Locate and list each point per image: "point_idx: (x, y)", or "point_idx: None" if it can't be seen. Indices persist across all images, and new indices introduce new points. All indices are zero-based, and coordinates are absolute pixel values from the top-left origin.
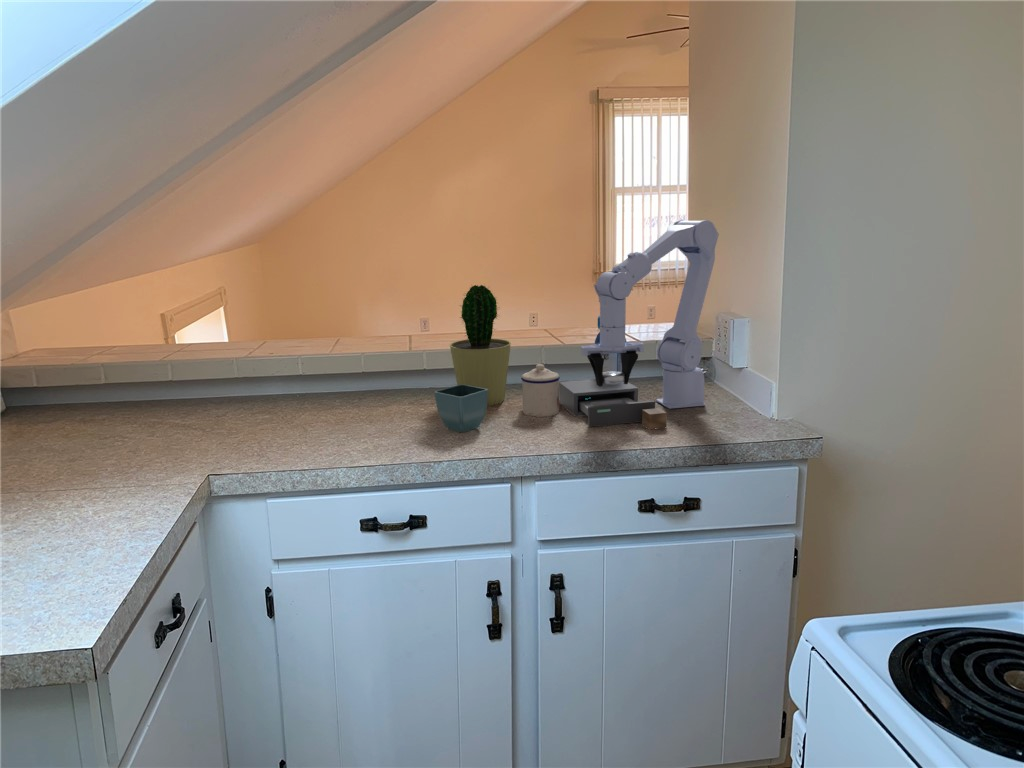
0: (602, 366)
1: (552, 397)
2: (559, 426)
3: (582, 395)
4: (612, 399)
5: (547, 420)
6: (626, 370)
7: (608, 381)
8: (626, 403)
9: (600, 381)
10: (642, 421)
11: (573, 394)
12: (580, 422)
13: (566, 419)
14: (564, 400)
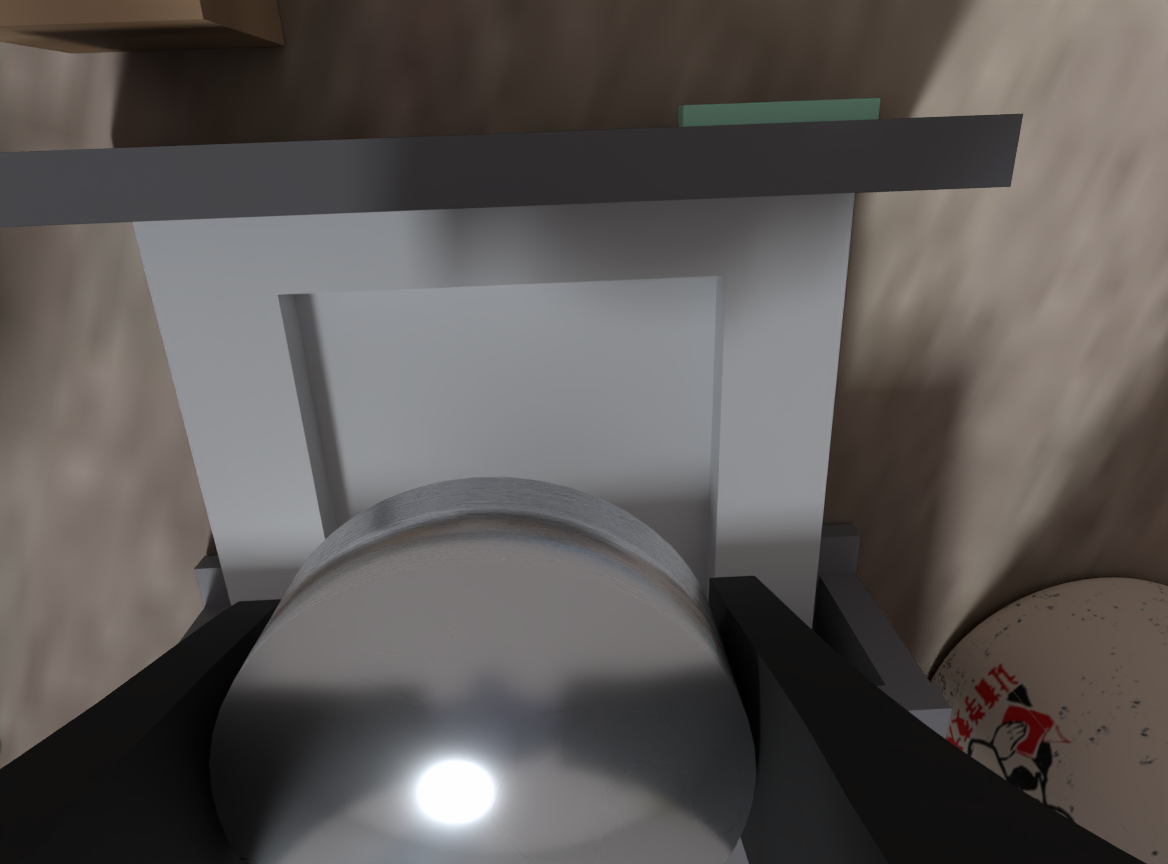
0: (911, 856)
1: (1157, 710)
2: (1145, 252)
3: None
4: None
5: (1139, 472)
6: (127, 796)
7: (643, 550)
8: (407, 171)
9: (778, 612)
10: (267, 28)
11: (938, 713)
12: (891, 330)
13: (968, 458)
14: None
